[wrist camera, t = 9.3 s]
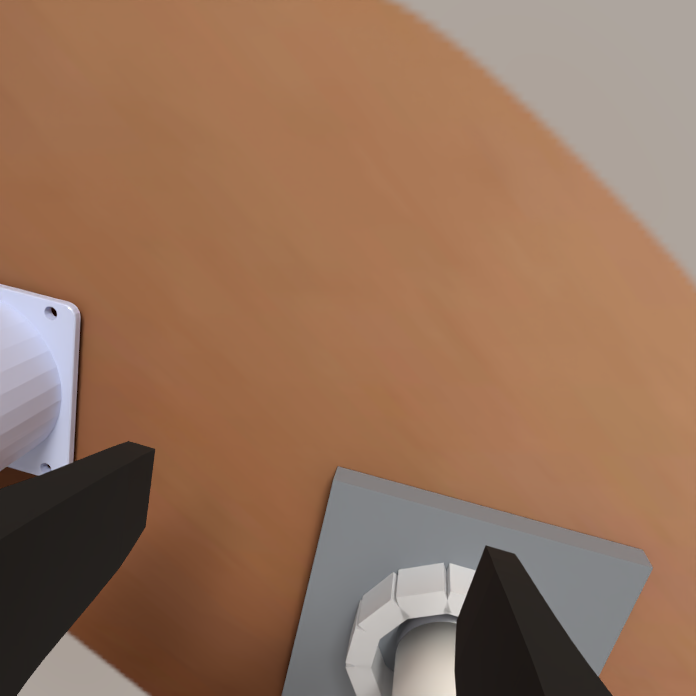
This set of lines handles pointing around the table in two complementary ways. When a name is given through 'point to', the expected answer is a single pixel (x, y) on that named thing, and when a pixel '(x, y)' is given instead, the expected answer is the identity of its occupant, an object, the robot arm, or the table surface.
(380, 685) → the socket holder
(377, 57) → the table surface
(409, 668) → the rounded peg
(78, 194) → the table surface
